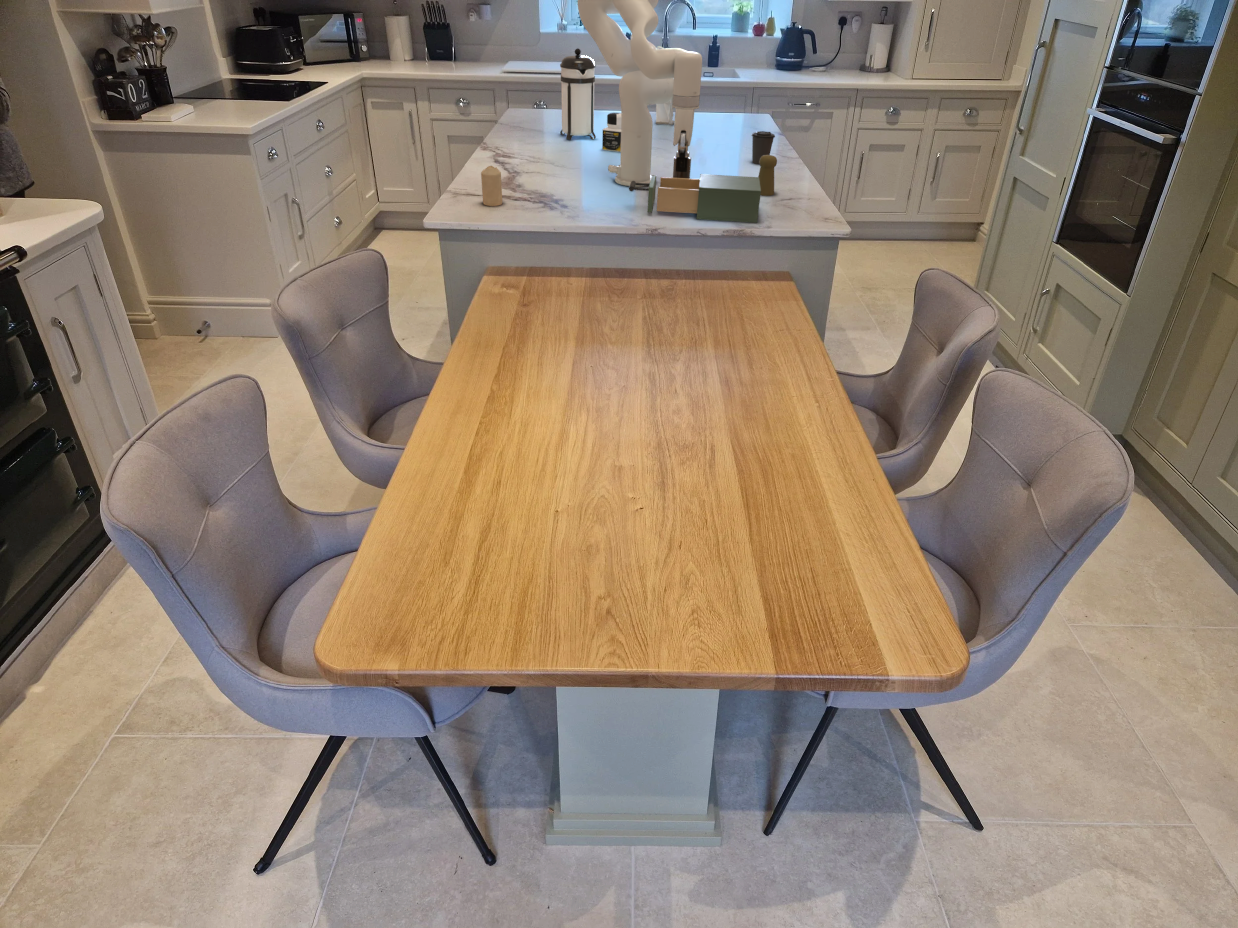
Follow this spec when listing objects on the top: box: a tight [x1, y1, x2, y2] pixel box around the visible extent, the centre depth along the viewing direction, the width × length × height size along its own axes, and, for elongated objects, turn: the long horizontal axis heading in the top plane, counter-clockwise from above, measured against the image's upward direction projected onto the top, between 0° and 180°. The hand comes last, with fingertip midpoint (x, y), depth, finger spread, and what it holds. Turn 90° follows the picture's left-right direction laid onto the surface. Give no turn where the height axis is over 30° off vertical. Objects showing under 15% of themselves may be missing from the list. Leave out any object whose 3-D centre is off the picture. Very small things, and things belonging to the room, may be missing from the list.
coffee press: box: [559, 48, 597, 141], centre depth 299 cm, size 17×16×30 cm
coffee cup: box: [751, 130, 776, 166], centre depth 277 cm, size 8×8×10 cm
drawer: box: [628, 174, 700, 214], centre depth 227 cm, size 21×13×7 cm, turn 84°
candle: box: [480, 165, 503, 207], centre depth 227 cm, size 6×6×10 cm
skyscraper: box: [655, 45, 675, 126], centre depth 326 cm, size 8×8×28 cm
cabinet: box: [696, 173, 762, 224], centre depth 226 cm, size 17×15×9 cm
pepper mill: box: [672, 150, 692, 179], centre depth 236 cm, size 5×5×12 cm
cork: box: [757, 154, 778, 197], centre depth 244 cm, size 6×6×11 cm
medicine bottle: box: [601, 112, 621, 153], centre depth 287 cm, size 7×7×12 cm
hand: (681, 168), depth 235 cm, fingers closed on pepper mill, 5 cm apart
